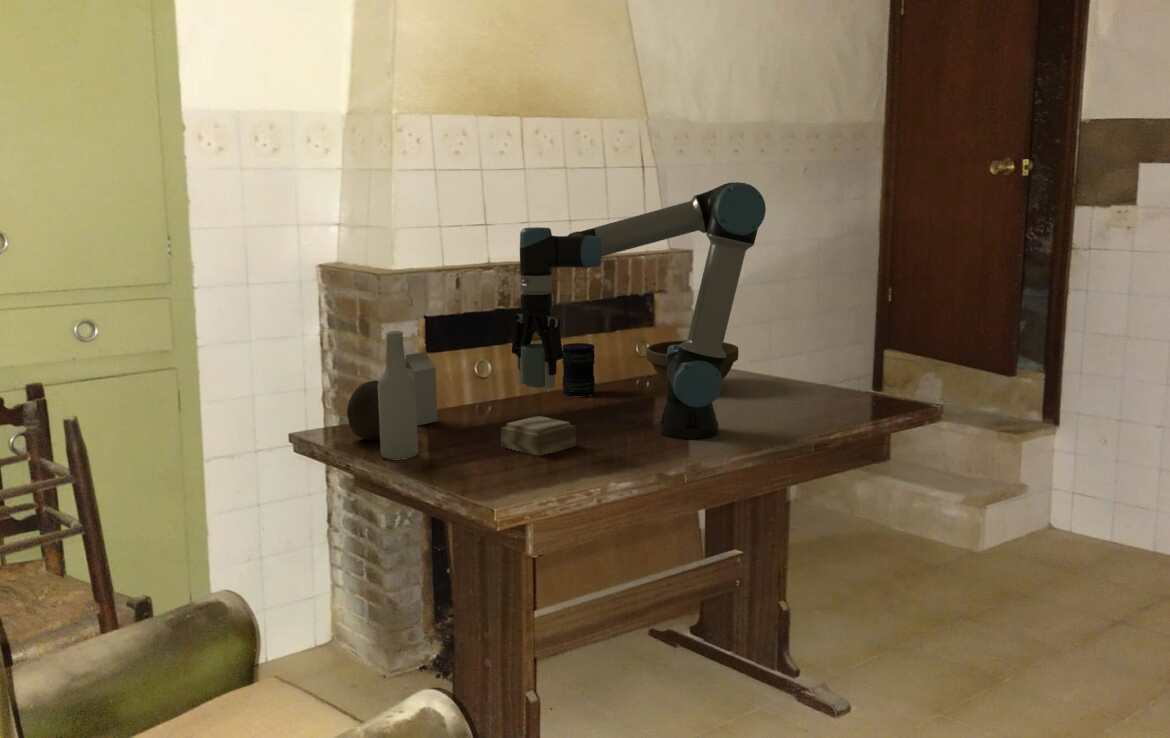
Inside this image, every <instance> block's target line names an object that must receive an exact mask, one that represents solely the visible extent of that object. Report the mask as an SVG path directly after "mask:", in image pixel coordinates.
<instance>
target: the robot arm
mask: <svg viewBox="0 0 1170 738" xmlns="http://www.w3.org/2000/svg"><path fill="white" fill-rule="evenodd" d="M766 209H767V208H766V201H765V199H764V197H763V195H762V194H761V192H760V191H759V190H758V189H757V188H756V187H755V186H753V185H751V184H749V183H746V182H737V181H736V182H727V183H724V184H722V185H719V186H717V187H716V188H713V189H710V190H708V191H706V192H702V193H699V194H695V195H693V196H692V198H691V200H689V201H686V202H682V203H678V204H675V205H671V206H667V207H664V208H661V209H657V210H653V211H649V212H646V213H643V214H638V215H635V216H632V217H631V216H630V217H627V218H624V219H620V220H617V221H613V222H609V223H607V224H603V225H599V226H595V227H593V228H588V229H585V230H581V231H574V232H573V231H572V232H571V233H569V234H568V235H553V234H552V230H551V228H550V227H536V226H535V227H534V226H533V227H532V226H531V227H524V228H522V229H521V231H520V232H519V233H520V234H519V267H520V268H519V271H520V272H519V275H520V278H519V280H520V291H521V292H522V293H521V294H520V308H521V309H522V313H516V314H513V323H514V324H513V325H514V326H513V334H512V343H511V353H512V354H513V355H516V356H517V359H518V360H517V361H518V364H517V367H518V370H519V384H520V385H526V384H525V383H524V381H523V378H522V371H521V346H522V345H529V344H532V339H533V337H534V333H535V332H536V333H537V335H538V336H539V338H540V341H541V344H542V345H543V348H544V351H545V355H546V358H547V360H546V361H545V387H544V389H546V390H548V389H553V388H556V375H557V362H558V361H560V360H563V348H562V346H563V345H562V338H561V328H560V327H561V318H560V317H556V318H555V317H552V315H551V312H550V311H551V309H552V307H553V294H552V293H551V291H552V290H553V284H552V283H553V280H552V278H553V277H552V268H556V269H557V268H558V269H559V268H585V269H589V268H599V267H600V266H602V265H601V264H602V257H606V256H610V255H613V254H617V253H620V252H625V251H628V250H631V249H635V248H639V247H642V246H643V247H644V246H647V245H650V244H654V243H657V242H660V241H665V240H669V239H672V238H676V237H679V236H682V235H683V236H684V235H687V234H691V233H695V232H697V231H698V232H700V233H703V234H706V236H707V238H708V240H709V242H710V243H709V248H708V251H707V257H706V259H705V260H706V261H705V265H704V269H703V273H702V277H701V281H700V285H699V290H698V293H697V299H696V302H695V306H694V310H693V315H692V319H691V323H690V326H689V331H688V334H687V339H686V340H684V341H685V342H683V343H681V344H680V345H670V346H669V347H668V350H667V355H666V358H667V384H666V403H665V406H664V410H663V412H662V416H661V420H660V422H659V433H660V434H662V435H663V436H666V437H671V438H675V439H687V440H688V439H689V440H690V439H691V440H692V439H697V438H698V439H707V438H712V437H714V436H716V435H718V434H719V422H718V420H717V415H716V413H715V408H714V406H713V402H714V401H716V400H717V399H718V397H719V396H720V394H721V392H722V389H723V384H724V383H723V381H724V379H723V380H722V372H723V368H724V364H725V359H726V354H725V352H724V351H723V349H722V345H723V342H724V341H725V337H726V332H727V327H728V324H729V321H730V315H731V312H732V308H733V305H734V299H735V297H736V292H737V287H738V284H739V281H740V276H741V272H742V269H743V264H744V260H745V257H746V252H747V250H749V249H750V248H752V247H754V245H755V242H756V238H757V234H758V231H759V228H760V226H761V225H762V223H763V222H764V220H765V217H766ZM551 355H552V356H551Z"/></svg>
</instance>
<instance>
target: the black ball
mask: <svg viewBox="0 0 1170 738" xmlns="http://www.w3.org/2000/svg"><path fill="white" fill-rule="evenodd" d="M378 382H379V380H370V381H366V382H364V383H362V384H361V385H359V386H358V387H357V388H356V389H355V390H354V392H353V393H352V394H351V396H350V397H349V401H348V402H347V403H348V404H347V410H346V417H347V419H348V420H347V421H348V423H349V426H350V428H351V431H352V432H353V434H354V435H356V436H357V437H359V438H361V439H363V440H365V441H367V442H377V441H380V427H379V404H378Z"/></svg>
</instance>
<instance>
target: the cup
mask: <svg viewBox="0 0 1170 738" xmlns="http://www.w3.org/2000/svg"><path fill="white" fill-rule="evenodd" d="M551 356H552V355H551ZM546 360H547V358H546V355H545V351H544V348H543V345H542V342H541V343H538V342H536V343H530V344H529V345H522V346H521V371H522V378H523V381H524V383H525V384H524V385H526V386H527V387H529V388H534V389H535V388H536V389H539V388H541V389H542V388H545V361H546Z"/></svg>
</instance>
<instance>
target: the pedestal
mask: <svg viewBox="0 0 1170 738" xmlns="http://www.w3.org/2000/svg"><path fill="white" fill-rule="evenodd" d="M576 428H577V426H576V425H572V424H571V422H569V421H564V420H560V419H556V418H555V419H554V418H550V417H546V416H541V415H536V416H532V417H529V418H523V419H519V420H516V421H511V422H507V423H506V426H501V427H500V446H501V448H502V447H505V448H504V449H506V448H508V449H507V450H510V449H512V450H511V451H514V450H516V451H515V452H518V451H520V452H519V453H522V452H524V453H523V454H526V453H528V454H527V455H530V454H533V455H532V456H534V455H538V456H539V455H542V456H544V455H543V454H546V455H549V454H548V453H550V454H552V453H558V452H559V451H563V450H566V449H567V450H568V449H570V448H574V447H576V446H577V441H576V440H577V434H576V433H577V429H576ZM538 456H537V457H538ZM539 457H540V456H539Z"/></svg>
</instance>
